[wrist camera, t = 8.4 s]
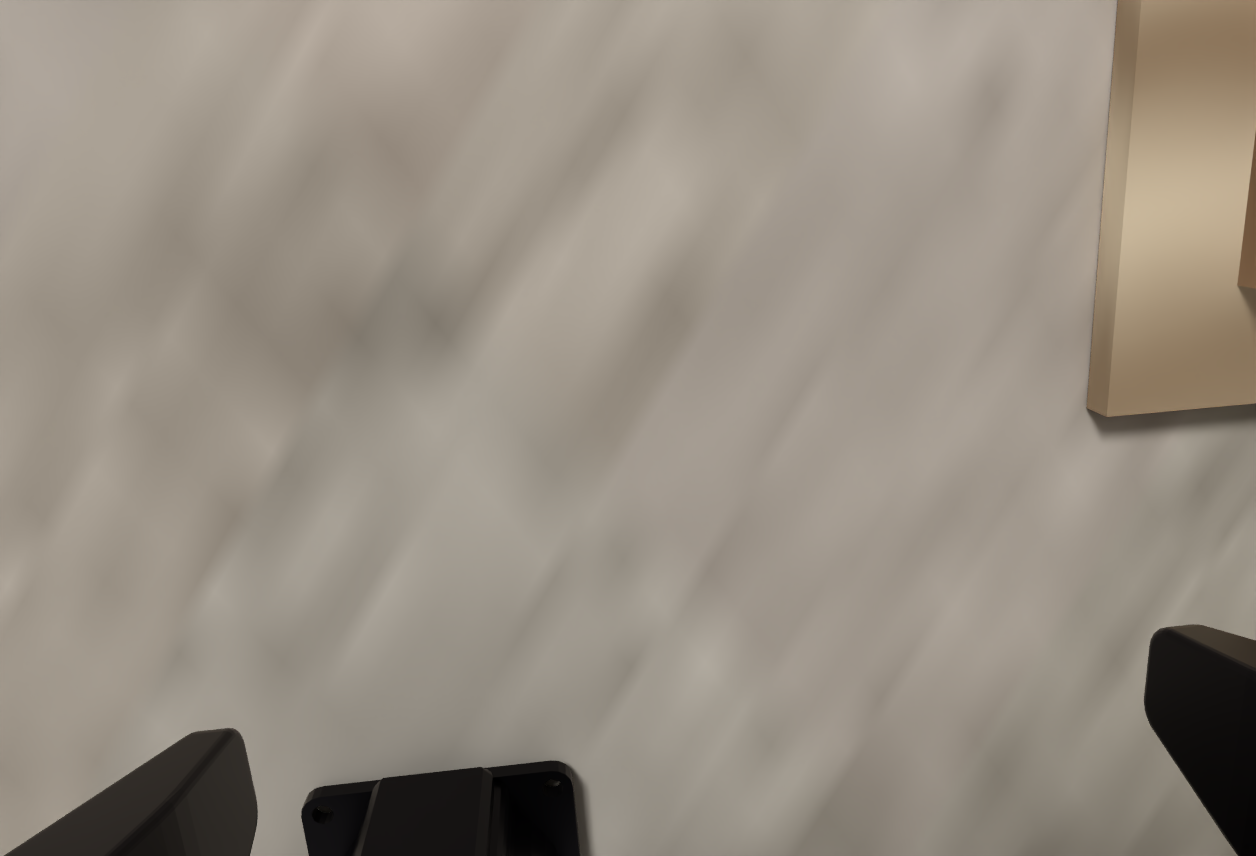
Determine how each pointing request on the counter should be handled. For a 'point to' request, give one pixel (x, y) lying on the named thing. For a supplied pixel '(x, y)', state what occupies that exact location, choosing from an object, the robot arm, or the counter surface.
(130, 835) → the robot arm
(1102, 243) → the well
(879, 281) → the counter surface
